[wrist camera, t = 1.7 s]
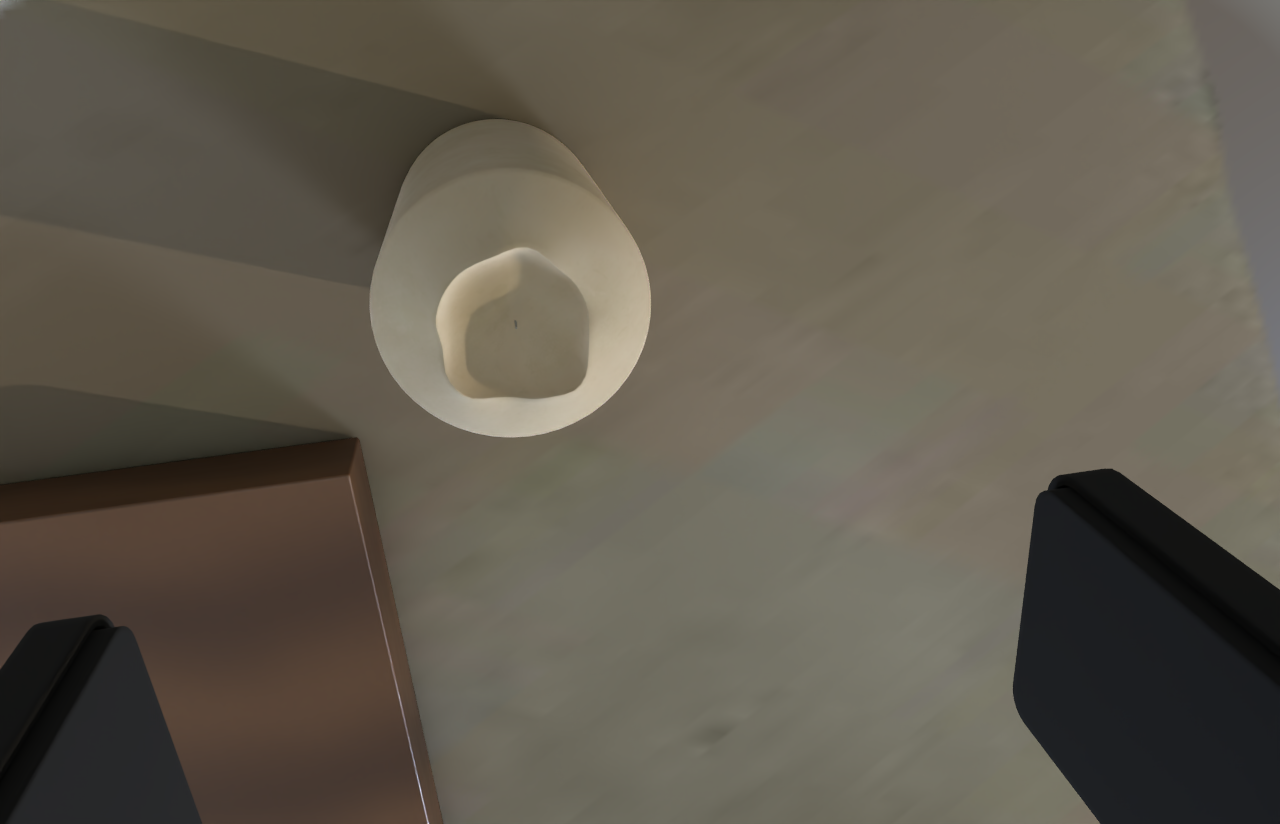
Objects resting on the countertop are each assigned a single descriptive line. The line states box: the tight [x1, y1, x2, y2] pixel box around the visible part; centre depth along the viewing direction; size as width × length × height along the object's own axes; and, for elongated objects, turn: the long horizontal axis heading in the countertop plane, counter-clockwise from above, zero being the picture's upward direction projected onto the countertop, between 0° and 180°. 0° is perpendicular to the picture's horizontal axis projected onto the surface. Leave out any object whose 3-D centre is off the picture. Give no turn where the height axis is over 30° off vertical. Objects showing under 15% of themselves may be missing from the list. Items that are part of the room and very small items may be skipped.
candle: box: [370, 119, 651, 437], centre depth 22 cm, size 6×6×10 cm
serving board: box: [0, 438, 443, 824], centre depth 30 cm, size 20×16×2 cm
